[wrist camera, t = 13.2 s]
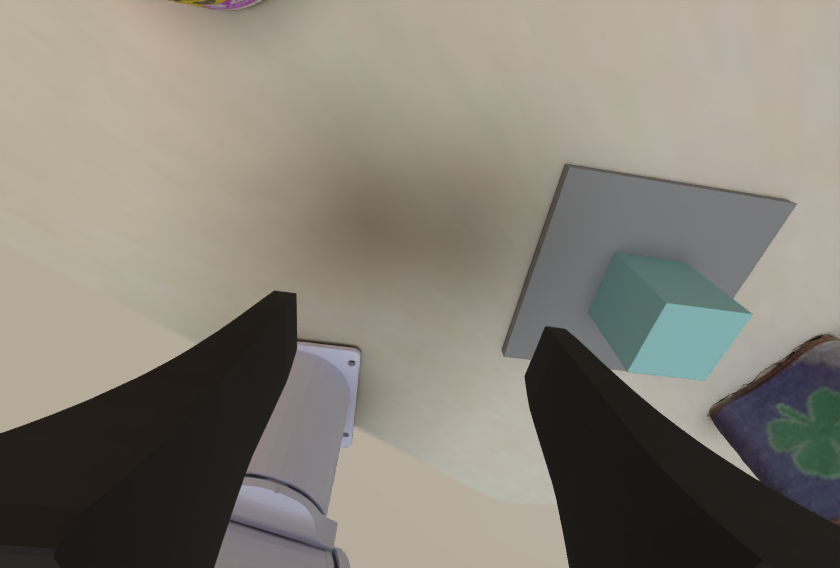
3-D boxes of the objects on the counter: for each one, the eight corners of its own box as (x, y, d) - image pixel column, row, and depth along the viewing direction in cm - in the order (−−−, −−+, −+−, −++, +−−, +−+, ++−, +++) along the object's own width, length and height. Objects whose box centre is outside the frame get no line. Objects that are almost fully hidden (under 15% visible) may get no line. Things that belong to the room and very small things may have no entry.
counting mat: (674, 370, 26) (679, 377, 26) (502, 350, 25) (503, 356, 25) (787, 199, 20) (797, 203, 19) (565, 164, 19) (569, 166, 18)
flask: (824, 327, 24) (1073, 495, 15) (848, 347, 25) (1098, 517, 16) (698, 412, 28) (835, 586, 19) (723, 427, 29) (865, 600, 20)
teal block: (651, 320, 23) (704, 380, 19) (587, 312, 23) (627, 372, 18) (684, 261, 21) (752, 314, 17) (615, 251, 21) (666, 302, 16)
